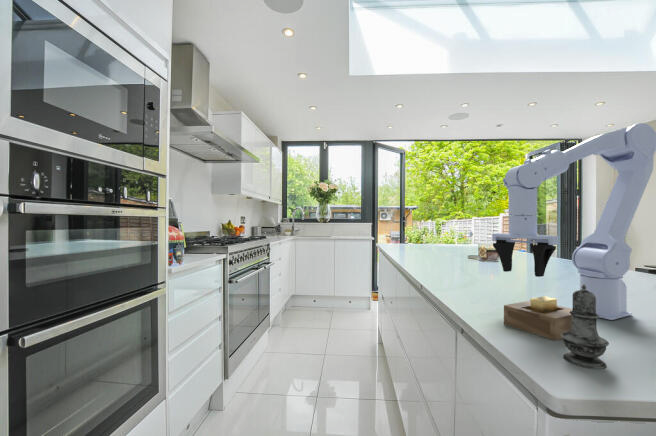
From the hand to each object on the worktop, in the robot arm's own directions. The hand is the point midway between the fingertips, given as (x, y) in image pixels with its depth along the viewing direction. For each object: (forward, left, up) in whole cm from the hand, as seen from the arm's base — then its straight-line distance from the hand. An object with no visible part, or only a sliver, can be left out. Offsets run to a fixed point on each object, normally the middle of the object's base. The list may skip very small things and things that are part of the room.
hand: (522, 273), depth 75 cm
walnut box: (+6, +8, -9) cm, 14 cm away
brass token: (+6, +8, -10) cm, 14 cm away
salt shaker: (+16, +20, -10) cm, 27 cm away
